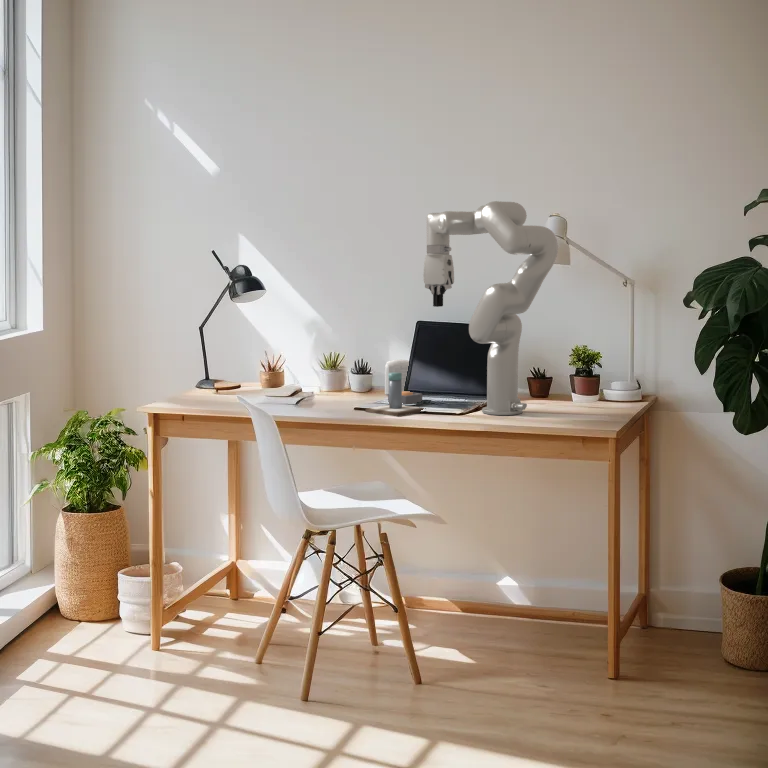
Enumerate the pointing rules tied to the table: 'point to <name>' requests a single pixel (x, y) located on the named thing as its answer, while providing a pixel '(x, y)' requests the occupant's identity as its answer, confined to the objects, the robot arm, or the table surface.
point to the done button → (407, 393)
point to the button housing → (411, 398)
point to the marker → (395, 390)
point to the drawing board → (394, 410)
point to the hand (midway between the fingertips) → (438, 306)
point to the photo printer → (396, 366)
